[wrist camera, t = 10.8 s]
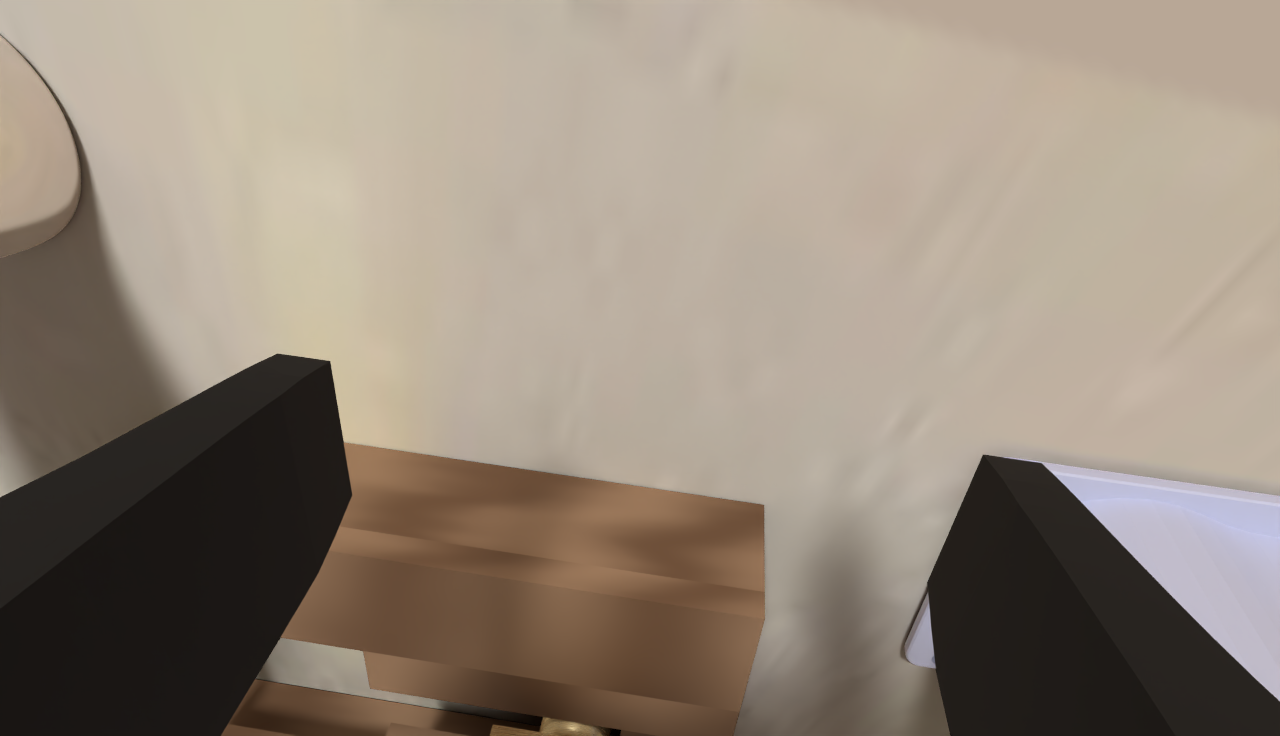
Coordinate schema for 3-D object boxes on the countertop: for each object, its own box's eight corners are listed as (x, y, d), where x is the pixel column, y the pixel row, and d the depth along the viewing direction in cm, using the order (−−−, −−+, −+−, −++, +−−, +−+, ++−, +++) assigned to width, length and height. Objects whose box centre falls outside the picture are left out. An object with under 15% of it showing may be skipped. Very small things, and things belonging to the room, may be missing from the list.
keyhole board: (763, 504, 22) (764, 619, 19) (698, 775, 30) (692, 886, 27) (166, 416, 23) (71, 511, 20) (259, 702, 31) (202, 801, 27)
